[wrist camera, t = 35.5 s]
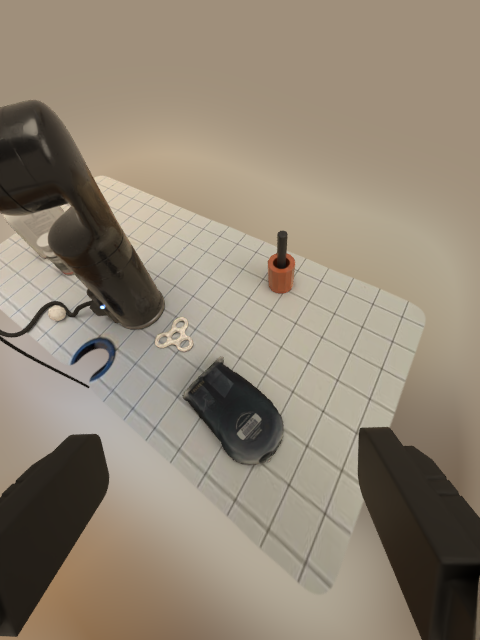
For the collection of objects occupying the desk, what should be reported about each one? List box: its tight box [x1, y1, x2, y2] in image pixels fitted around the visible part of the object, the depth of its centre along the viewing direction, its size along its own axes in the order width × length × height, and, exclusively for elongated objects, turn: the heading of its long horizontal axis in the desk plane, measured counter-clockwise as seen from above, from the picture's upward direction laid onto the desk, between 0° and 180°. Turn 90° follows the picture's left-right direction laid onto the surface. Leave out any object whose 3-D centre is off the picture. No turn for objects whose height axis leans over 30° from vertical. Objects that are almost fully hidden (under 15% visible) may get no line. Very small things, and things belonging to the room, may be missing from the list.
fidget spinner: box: [155, 317, 193, 352], centre depth 50 cm, size 7×6×1 cm
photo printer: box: [3, 206, 65, 258], centre depth 60 cm, size 10×4×12 cm, turn 124°
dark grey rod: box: [277, 231, 287, 269], centre depth 48 cm, size 2×2×12 cm
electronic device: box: [183, 356, 283, 465], centre depth 41 cm, size 9×6×15 cm
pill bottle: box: [37, 232, 73, 275], centre depth 58 cm, size 5×5×8 cm
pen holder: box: [268, 253, 295, 293], centre depth 51 cm, size 5×5×6 cm
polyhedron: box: [48, 306, 66, 321], centre depth 54 cm, size 3×3×3 cm
